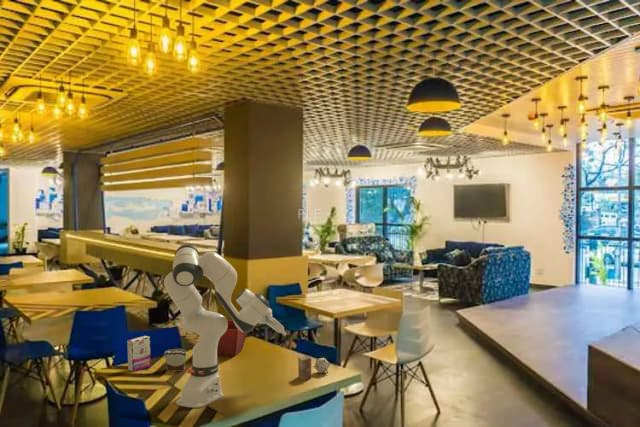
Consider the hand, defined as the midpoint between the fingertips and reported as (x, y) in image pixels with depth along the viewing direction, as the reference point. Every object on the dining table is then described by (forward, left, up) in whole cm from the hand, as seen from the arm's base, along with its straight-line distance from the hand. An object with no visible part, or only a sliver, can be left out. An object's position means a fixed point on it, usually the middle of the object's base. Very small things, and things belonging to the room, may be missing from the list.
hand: (282, 332), depth 249 cm
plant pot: (+34, +50, -25) cm, 65 cm away
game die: (+18, -14, -25) cm, 34 cm away
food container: (+1, +62, -25) cm, 67 cm away
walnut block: (+9, -8, -25) cm, 27 cm away
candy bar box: (-5, +82, -25) cm, 86 cm away
